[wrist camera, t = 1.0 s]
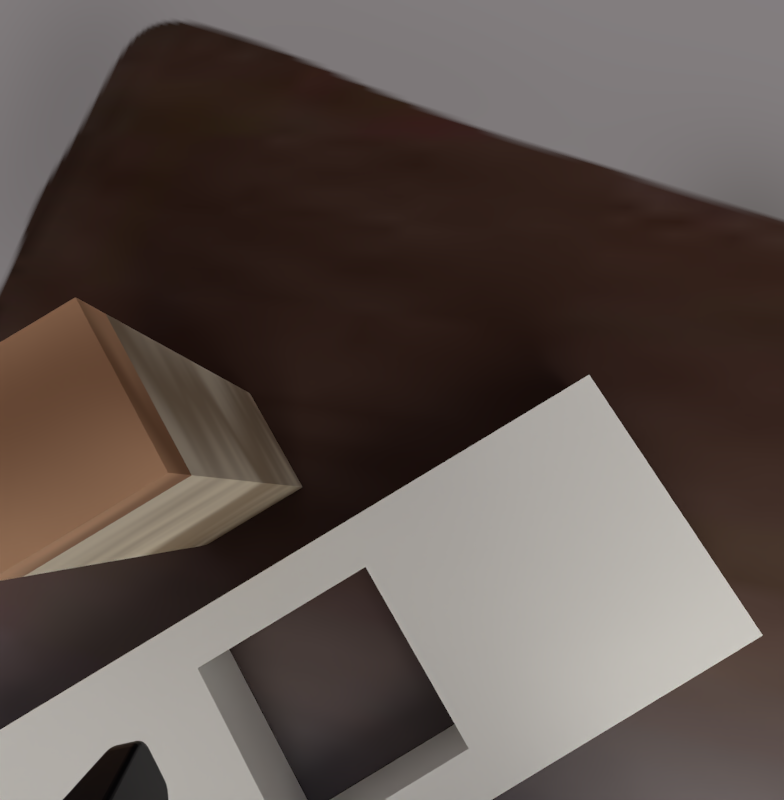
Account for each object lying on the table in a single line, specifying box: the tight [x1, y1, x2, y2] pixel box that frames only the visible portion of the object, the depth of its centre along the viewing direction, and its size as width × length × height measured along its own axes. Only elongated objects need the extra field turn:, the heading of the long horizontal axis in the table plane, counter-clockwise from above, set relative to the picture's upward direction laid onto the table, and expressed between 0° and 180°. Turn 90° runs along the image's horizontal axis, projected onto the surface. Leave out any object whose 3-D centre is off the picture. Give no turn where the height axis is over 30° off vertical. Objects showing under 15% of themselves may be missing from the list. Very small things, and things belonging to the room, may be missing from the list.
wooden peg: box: [0, 297, 302, 581], centre depth 19 cm, size 4×4×12 cm
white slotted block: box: [0, 375, 763, 800], centre depth 22 cm, size 9×24×3 cm, turn 121°
